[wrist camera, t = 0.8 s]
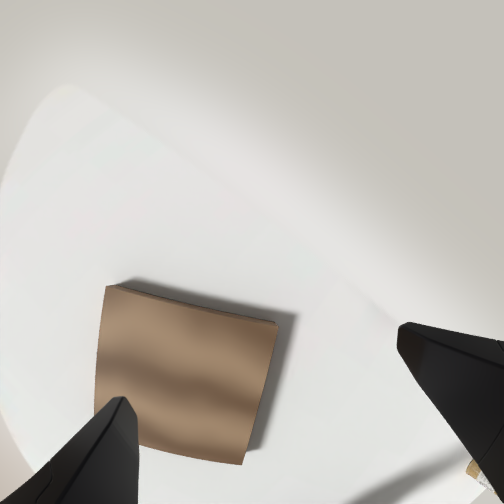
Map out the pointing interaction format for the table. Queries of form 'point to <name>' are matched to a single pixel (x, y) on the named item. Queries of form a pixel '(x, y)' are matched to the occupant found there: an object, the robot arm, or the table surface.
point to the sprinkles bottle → (479, 475)
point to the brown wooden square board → (183, 372)
